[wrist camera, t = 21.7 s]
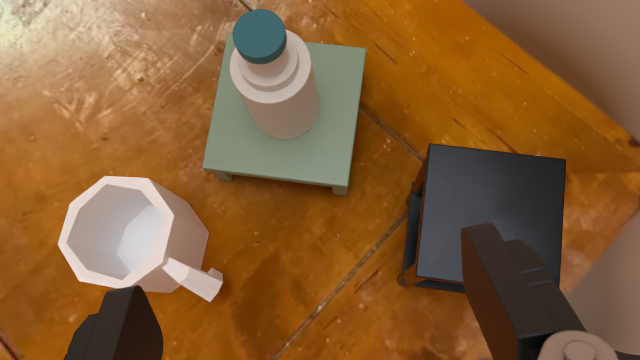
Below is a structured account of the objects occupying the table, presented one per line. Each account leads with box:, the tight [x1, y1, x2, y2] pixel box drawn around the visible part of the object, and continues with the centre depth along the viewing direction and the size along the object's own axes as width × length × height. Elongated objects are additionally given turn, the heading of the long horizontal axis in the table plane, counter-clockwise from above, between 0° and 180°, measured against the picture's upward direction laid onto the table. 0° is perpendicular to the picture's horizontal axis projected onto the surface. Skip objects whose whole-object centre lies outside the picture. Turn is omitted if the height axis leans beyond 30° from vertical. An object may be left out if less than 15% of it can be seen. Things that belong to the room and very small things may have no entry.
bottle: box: [230, 9, 319, 140], centre depth 40 cm, size 6×6×13 cm
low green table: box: [202, 34, 366, 196], centre depth 49 cm, size 12×12×5 cm
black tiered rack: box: [397, 143, 566, 294], centre depth 40 cm, size 8×8×16 cm
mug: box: [58, 176, 223, 302], centre depth 45 cm, size 12×9×10 cm
